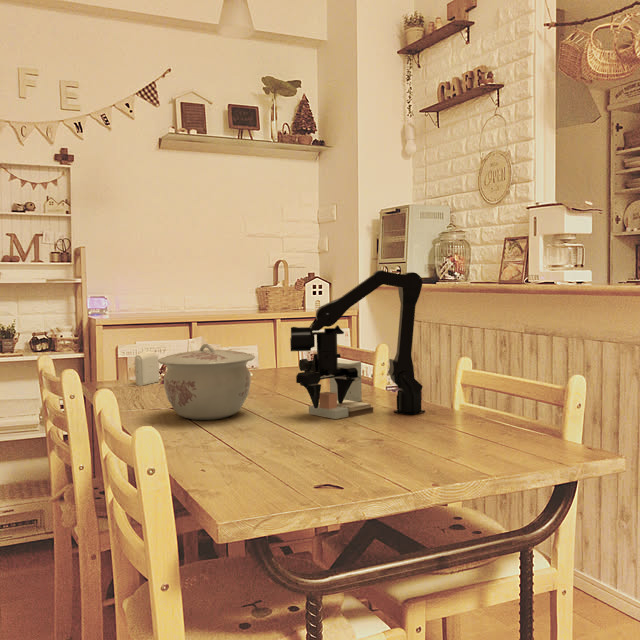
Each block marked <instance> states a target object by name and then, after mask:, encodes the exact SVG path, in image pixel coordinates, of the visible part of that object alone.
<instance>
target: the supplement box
mask: <svg viewBox="0 0 640 640" xmlns="http://www.w3.org/2000/svg"><path fill="white" fill-rule="evenodd" d="M343 366H347V367H355V368H356V369H357V371H358V377H356V378H352V379H355V381H353V382H352V384H351V386H350V387H349V389H348V391H347V393H346V396H345V398H344V400H350V401H356V402H362V361H360V360H347V359H346V360H344V359H343V360H338V367H343ZM334 378H337V377H334ZM334 378H329V392H332V393H337V401H338V391H337V383H336V381H335V379H334Z"/></svg>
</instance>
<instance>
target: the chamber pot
mask: <svg viewBox="0 0 640 640" xmlns="http://www.w3.org/2000/svg"><path fill="white" fill-rule="evenodd" d="M255 358H256V356H255V355H254V354H251V353H247V352H243V351H237V350H230V349H229V350H228V349H227V350H226V349H214V348H213V347H212V345H210V344H208V343H205V344H202V345H201V347H200V348H199V349H198V350H192V351H185V352H184V351H183V352H178V353H173V354H169V355H166V356H163V357H160V358H158V362H159V365H160V364H161V365H166V368H167V370H166V372H165V374H164V375H163V388H164V391H165V395H166V399H167V401H168V402H169V403H170V405H171V407H172V408H173V410H174V411H175V413H176V414H177V415H178V416H180V417H183V418H186V419H189V420H193V421H215V420H222V419H226V418H229V417H231V416H233V415H236V414H238V412H240V410H241V409H242V407H243V406H244V403H246V400H247V398H248V397H249V395H250V388H251V384H252V383H251V381H252V380H251V378H252V375H251V374H252V373H251V372H250V369H249V368H248V367H247V364H248V362H251V361H253V360H254V359H255Z"/></svg>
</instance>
